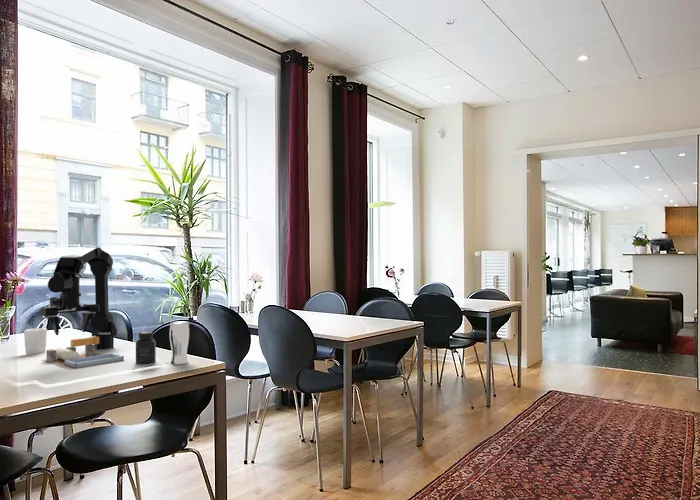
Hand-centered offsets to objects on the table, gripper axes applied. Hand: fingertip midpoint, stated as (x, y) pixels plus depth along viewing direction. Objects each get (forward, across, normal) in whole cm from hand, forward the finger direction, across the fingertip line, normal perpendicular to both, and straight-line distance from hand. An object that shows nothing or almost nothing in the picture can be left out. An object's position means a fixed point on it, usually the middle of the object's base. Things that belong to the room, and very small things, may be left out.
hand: (70, 333), depth 192 cm
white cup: (+12, 0, -31) cm, 33 cm away
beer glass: (+12, -28, +27) cm, 40 cm away
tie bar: (+6, -8, -8) cm, 13 cm away
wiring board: (+12, -4, 0) cm, 12 cm away
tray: (+10, -6, +7) cm, 14 cm away
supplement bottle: (+12, -18, +21) cm, 30 cm away
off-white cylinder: (+10, 0, -4) cm, 11 cm away
